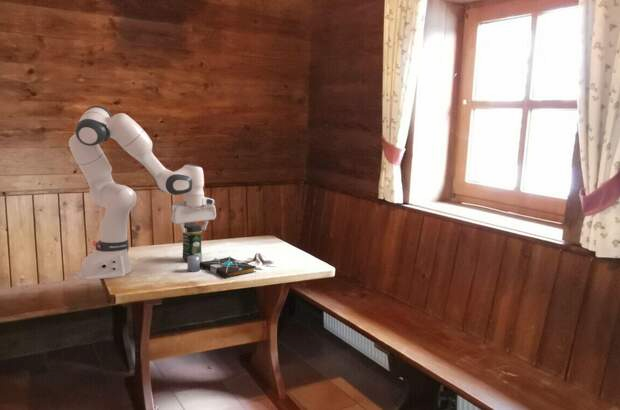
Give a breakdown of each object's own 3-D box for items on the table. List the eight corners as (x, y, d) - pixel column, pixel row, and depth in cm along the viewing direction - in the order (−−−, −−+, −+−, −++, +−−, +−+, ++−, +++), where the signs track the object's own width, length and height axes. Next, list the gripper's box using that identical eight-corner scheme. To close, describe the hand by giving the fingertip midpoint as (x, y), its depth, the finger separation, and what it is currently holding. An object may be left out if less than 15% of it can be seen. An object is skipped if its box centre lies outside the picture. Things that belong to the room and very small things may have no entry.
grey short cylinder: (190, 272, 231) (190, 258, 230) (185, 269, 235) (185, 256, 234) (201, 271, 234) (201, 257, 233) (196, 268, 239) (196, 254, 238)
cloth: (250, 271, 237) (250, 258, 236) (232, 262, 252) (232, 249, 251) (291, 265, 249) (291, 253, 248) (271, 256, 264) (272, 245, 264)
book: (199, 268, 240) (199, 258, 239) (229, 263, 252) (229, 252, 251) (225, 280, 225) (225, 269, 224) (256, 273, 236) (257, 262, 235)
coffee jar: (180, 259, 253) (180, 221, 250) (195, 256, 258) (195, 220, 255) (188, 263, 245) (188, 225, 242) (204, 261, 250) (204, 223, 247)
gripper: (174, 203, 221) (175, 235, 223) (217, 200, 234) (217, 230, 236) (168, 201, 226) (169, 232, 228) (211, 198, 238) (211, 227, 241)
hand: (194, 231), depth 232 cm, fingers open, 8 cm apart
